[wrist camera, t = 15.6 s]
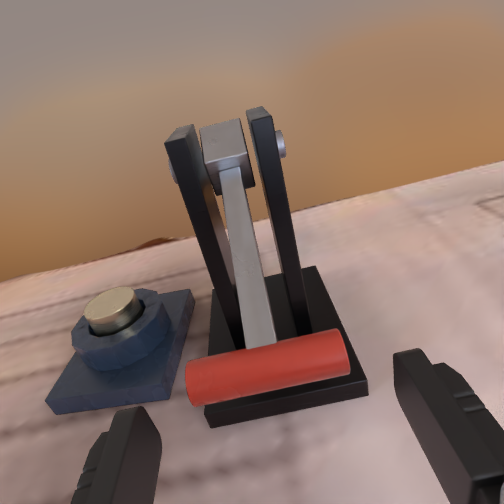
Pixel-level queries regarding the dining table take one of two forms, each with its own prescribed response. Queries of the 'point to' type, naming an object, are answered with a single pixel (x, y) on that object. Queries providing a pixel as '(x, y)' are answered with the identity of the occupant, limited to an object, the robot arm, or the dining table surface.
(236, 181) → the lever
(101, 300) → the button
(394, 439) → the dining table surface
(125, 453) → the robot arm
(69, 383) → the box
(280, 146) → the bracket
